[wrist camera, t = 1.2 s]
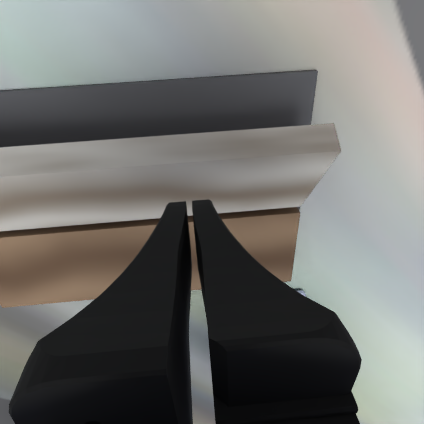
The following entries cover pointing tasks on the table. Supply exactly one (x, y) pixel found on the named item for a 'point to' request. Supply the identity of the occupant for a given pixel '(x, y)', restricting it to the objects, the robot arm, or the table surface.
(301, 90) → the underlay mat
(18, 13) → the table surface
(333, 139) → the plank
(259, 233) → the laid plank
